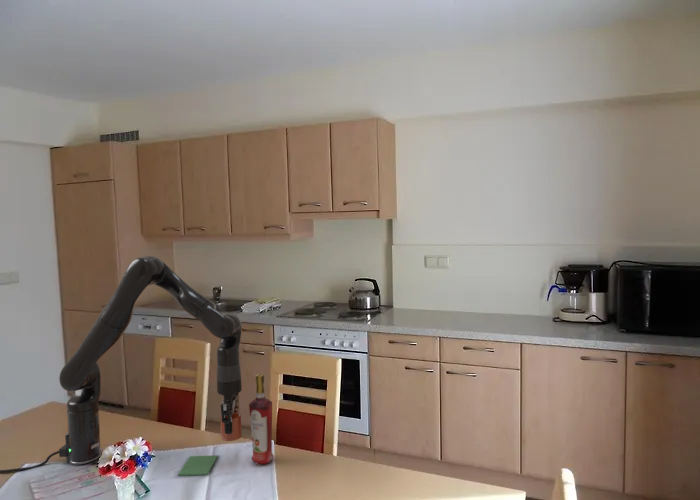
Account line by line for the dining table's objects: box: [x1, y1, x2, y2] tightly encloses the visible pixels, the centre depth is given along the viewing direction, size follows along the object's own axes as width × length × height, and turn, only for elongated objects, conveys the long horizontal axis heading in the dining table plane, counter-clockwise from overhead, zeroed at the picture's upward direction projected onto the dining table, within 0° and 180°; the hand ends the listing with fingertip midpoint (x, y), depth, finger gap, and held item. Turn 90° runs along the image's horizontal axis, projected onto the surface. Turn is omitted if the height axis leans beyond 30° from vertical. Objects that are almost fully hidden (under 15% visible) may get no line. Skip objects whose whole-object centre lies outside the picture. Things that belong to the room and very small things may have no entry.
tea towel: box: [177, 455, 219, 477], centre depth 158 cm, size 9×12×1 cm
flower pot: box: [219, 412, 242, 442], centre depth 158 cm, size 6×6×7 cm
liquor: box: [248, 373, 274, 465], centre depth 159 cm, size 7×7×28 cm
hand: (231, 428), depth 158 cm, fingers closed on flower pot, 6 cm apart
